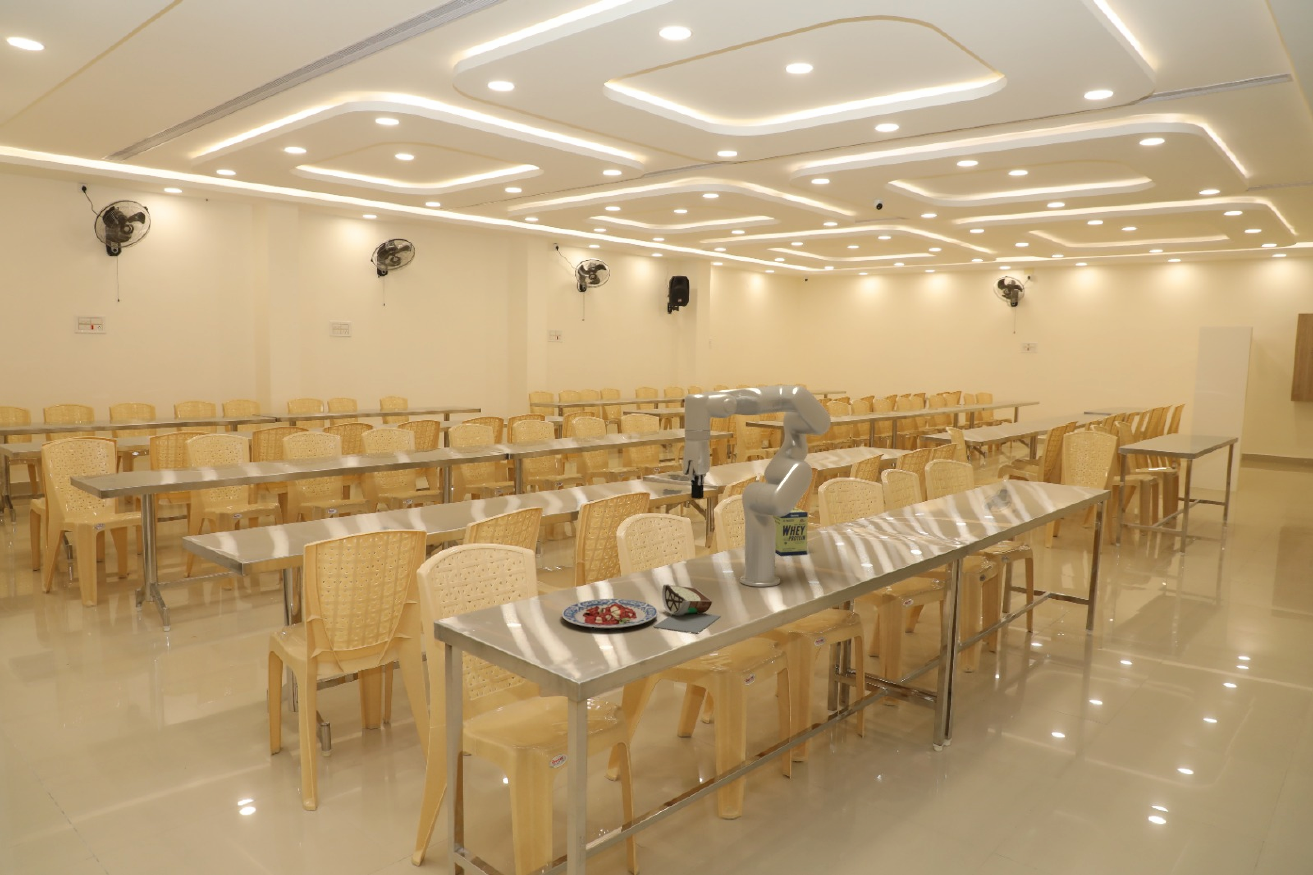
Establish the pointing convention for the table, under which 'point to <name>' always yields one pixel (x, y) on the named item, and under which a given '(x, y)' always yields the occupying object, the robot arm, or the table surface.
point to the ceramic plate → (609, 613)
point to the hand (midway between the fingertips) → (697, 498)
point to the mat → (687, 622)
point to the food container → (684, 600)
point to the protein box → (791, 533)
